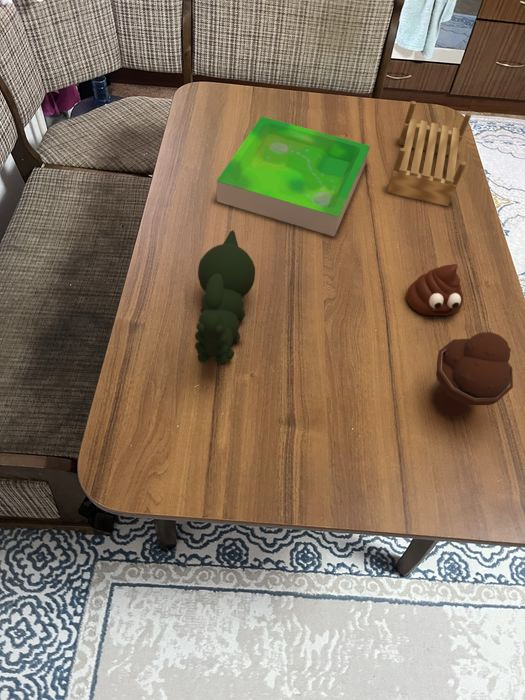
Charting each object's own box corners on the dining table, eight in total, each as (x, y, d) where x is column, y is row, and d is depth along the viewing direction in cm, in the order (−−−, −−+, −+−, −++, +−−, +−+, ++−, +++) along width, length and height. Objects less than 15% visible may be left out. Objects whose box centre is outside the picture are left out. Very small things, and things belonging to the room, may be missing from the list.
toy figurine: (242, 386, 85) (257, 264, 98) (244, 321, 69) (263, 185, 81) (183, 379, 85) (207, 259, 98) (172, 313, 69) (202, 178, 81)
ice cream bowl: (410, 374, 87) (441, 316, 74) (475, 372, 88) (516, 314, 75) (426, 433, 80) (462, 380, 68) (496, 430, 82) (545, 378, 69)
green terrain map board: (216, 201, 108) (216, 180, 104) (260, 136, 122) (261, 116, 118) (334, 236, 104) (338, 216, 100) (364, 165, 118) (370, 145, 114)
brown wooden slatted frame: (455, 153, 123) (471, 112, 115) (448, 206, 112) (466, 165, 104) (398, 140, 125) (411, 99, 117) (386, 192, 113) (399, 151, 105)
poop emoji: (453, 284, 99) (472, 247, 91) (466, 320, 94) (487, 284, 86) (400, 284, 98) (415, 247, 90) (411, 320, 93) (427, 284, 86)
